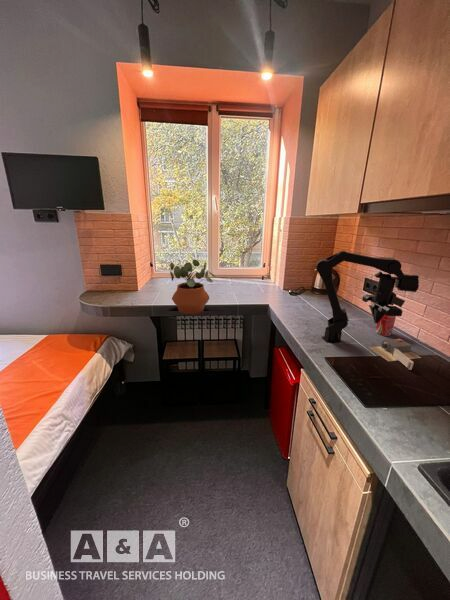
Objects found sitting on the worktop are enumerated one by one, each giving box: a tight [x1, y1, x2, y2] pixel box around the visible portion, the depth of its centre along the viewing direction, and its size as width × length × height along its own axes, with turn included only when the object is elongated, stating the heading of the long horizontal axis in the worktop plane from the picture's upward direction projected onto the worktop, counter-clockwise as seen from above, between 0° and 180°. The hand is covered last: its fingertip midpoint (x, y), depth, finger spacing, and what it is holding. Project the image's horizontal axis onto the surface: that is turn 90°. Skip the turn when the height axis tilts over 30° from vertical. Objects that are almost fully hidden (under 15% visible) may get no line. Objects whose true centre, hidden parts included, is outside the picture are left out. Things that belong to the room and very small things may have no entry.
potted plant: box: [169, 259, 217, 315], centre depth 145 cm, size 23×28×30 cm
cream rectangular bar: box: [392, 348, 415, 371], centre depth 98 cm, size 11×2×3 cm, turn 179°
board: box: [368, 345, 422, 362], centre depth 106 cm, size 16×11×1 cm
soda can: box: [374, 315, 397, 337], centre depth 121 cm, size 7×7×12 cm
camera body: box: [380, 338, 413, 354], centre depth 107 cm, size 10×6×4 cm, turn 101°
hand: (376, 323), depth 107 cm, fingers closed
